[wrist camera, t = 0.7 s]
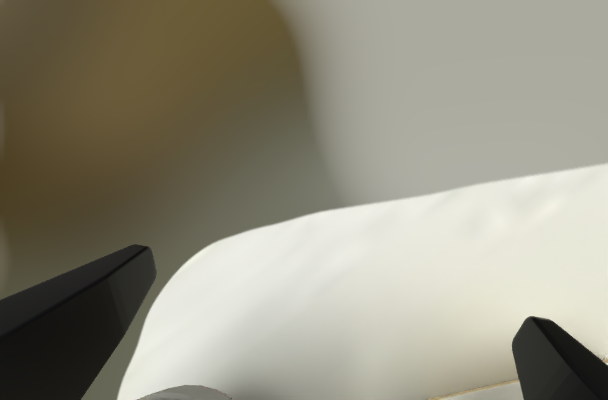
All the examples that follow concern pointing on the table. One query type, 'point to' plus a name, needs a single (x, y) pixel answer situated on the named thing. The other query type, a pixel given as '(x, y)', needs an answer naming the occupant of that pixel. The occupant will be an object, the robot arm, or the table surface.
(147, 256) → the robot arm
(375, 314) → the table surface
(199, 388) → the food container
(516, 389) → the carton
